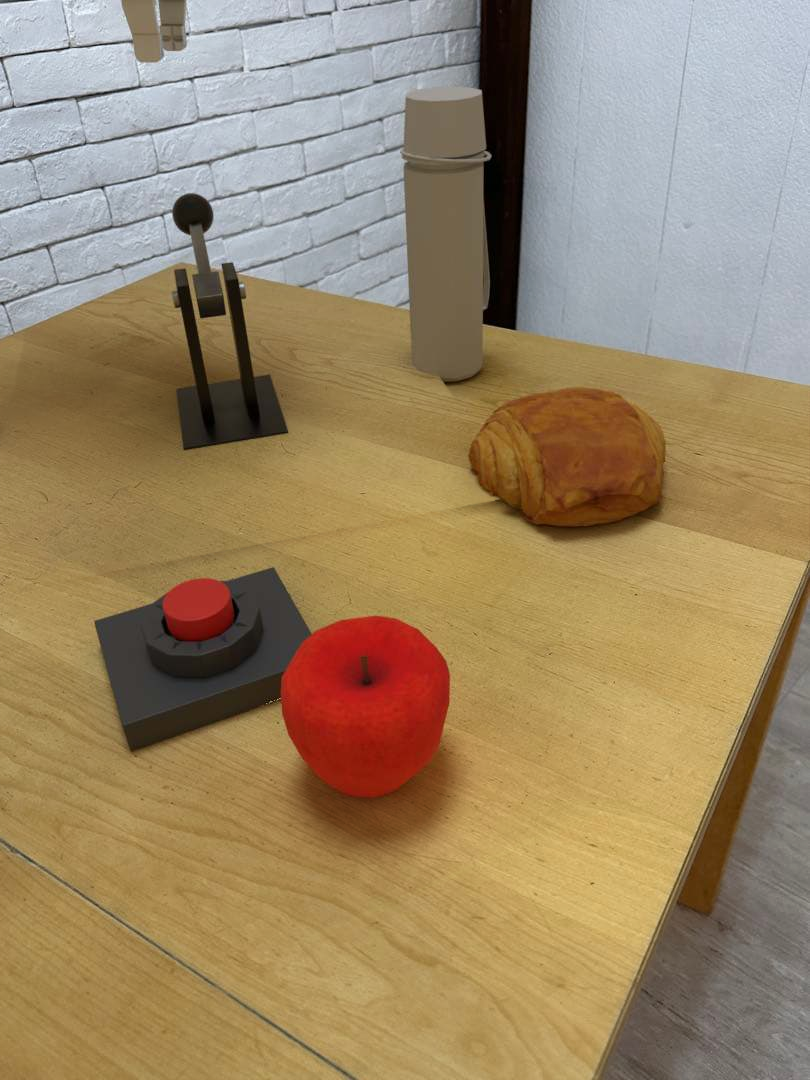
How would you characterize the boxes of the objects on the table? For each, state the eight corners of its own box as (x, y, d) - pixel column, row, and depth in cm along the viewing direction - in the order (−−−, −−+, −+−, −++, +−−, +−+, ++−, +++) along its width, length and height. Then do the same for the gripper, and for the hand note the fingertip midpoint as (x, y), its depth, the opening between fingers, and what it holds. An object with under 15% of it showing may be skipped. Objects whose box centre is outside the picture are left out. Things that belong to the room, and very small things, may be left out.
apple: (473, 813, 47) (472, 707, 42) (304, 849, 46) (284, 743, 41) (432, 692, 54) (428, 590, 49) (285, 720, 53) (267, 618, 48)
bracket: (178, 400, 87) (148, 258, 79) (271, 386, 89) (251, 245, 81) (186, 461, 78) (152, 306, 70) (290, 443, 79) (268, 291, 71)
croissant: (466, 469, 78) (452, 386, 74) (644, 431, 78) (640, 345, 73) (494, 565, 66) (479, 473, 62) (704, 522, 66) (703, 425, 61)
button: (176, 651, 53) (170, 628, 52) (161, 611, 56) (155, 589, 55) (242, 630, 54) (238, 607, 53) (224, 592, 57) (220, 570, 56)
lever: (173, 219, 83) (166, 186, 80) (212, 214, 84) (207, 182, 81) (192, 325, 77) (186, 293, 74) (235, 319, 77) (231, 288, 74)
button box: (130, 752, 51) (114, 702, 49) (102, 646, 59) (86, 598, 56) (329, 683, 55) (322, 634, 53) (277, 591, 62) (270, 544, 60)
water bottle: (448, 394, 86) (442, 106, 71) (394, 369, 90) (378, 95, 76) (515, 364, 90) (522, 87, 76) (460, 342, 95) (457, 79, 81)
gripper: (123, -159, 70) (150, 44, 77) (42, -197, 53) (86, 69, 60) (205, -158, 70) (224, 44, 78) (150, -196, 53) (181, 69, 60)
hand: (163, 55), depth 69 cm, fingers open, 8 cm apart
